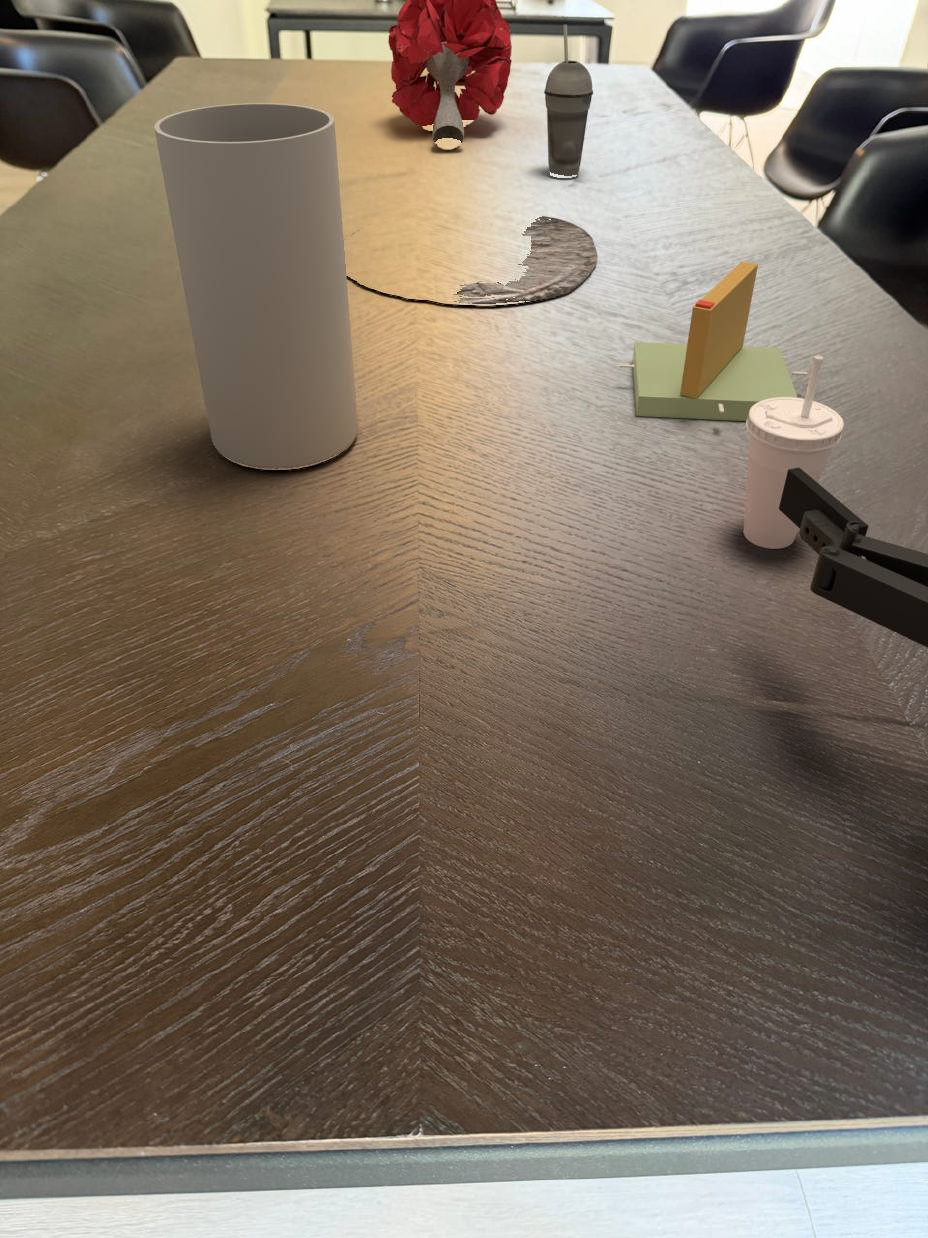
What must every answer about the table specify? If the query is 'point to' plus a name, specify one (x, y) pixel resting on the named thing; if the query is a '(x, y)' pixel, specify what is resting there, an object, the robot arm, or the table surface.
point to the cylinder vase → (264, 277)
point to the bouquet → (449, 62)
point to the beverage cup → (567, 114)
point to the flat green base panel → (724, 397)
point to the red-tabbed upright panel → (717, 329)
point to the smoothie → (784, 457)
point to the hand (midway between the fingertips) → (885, 470)
